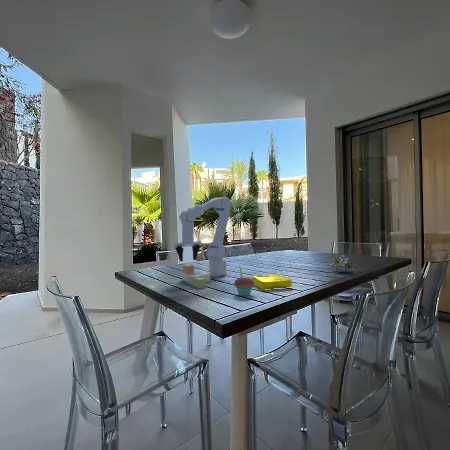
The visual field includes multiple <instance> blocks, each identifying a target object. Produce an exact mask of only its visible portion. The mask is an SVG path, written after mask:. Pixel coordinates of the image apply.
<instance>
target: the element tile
mask: <svg viewBox="0 0 450 450" xmlns="http://www.w3.org/2000/svg"><path fill="white" fill-rule="evenodd" d="M251 279H252V280H253V281H254V284H255V286H254V287H256V286H257V287H259V288H260V289H259V288H258V289H259V290H261V289H274V288H283V287H291V286H292V287H293V280H292V279H291V278H290V277H287V276H284V275H281V274H278V273H276V274H275V273H274V274H272V273H271V274H257V275H252V278H251ZM257 287H256V288H257Z"/></svg>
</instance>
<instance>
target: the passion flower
mask: <svg viewBox="0 0 450 450" xmlns="http://www.w3.org/2000/svg"><path fill="white" fill-rule="evenodd" d="M344 257H345V254H342V255H340V256H334V257H333V260H332V261H331V263H329V266H332V267H333V268H336V269H337V270H338V269H341V270H342V268H343V267H345V269H346V270H347V268H348V269H350V270H351V268H353V267H354V266H356V265H355V263H354V262H350V263H348V260H349V257H346V258H344ZM351 264H352V265H353V267H352V265H351Z"/></svg>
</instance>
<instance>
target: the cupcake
mask: <svg viewBox="0 0 450 450" xmlns="http://www.w3.org/2000/svg"><path fill="white" fill-rule="evenodd" d="M239 274H240V277H239V278H237V279H235V281H234V282H233V285H234V287H235V288H236V291H237V293H238V295H239V296H240V295H241V296H242V297H247V296H250V295H251V292H252V289H253V288H254V287H256V286H255V284H254V281H253V280H252V278H250V277H245V276H244V277H243V272H242V267H239ZM241 296H240V297H241Z"/></svg>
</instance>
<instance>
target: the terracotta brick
mask: <svg viewBox="0 0 450 450" xmlns="http://www.w3.org/2000/svg"><path fill="white" fill-rule="evenodd" d="M182 273H185V274H194V275H195V265H193V264H188V263H187V264H186V263H185V264H182Z"/></svg>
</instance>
